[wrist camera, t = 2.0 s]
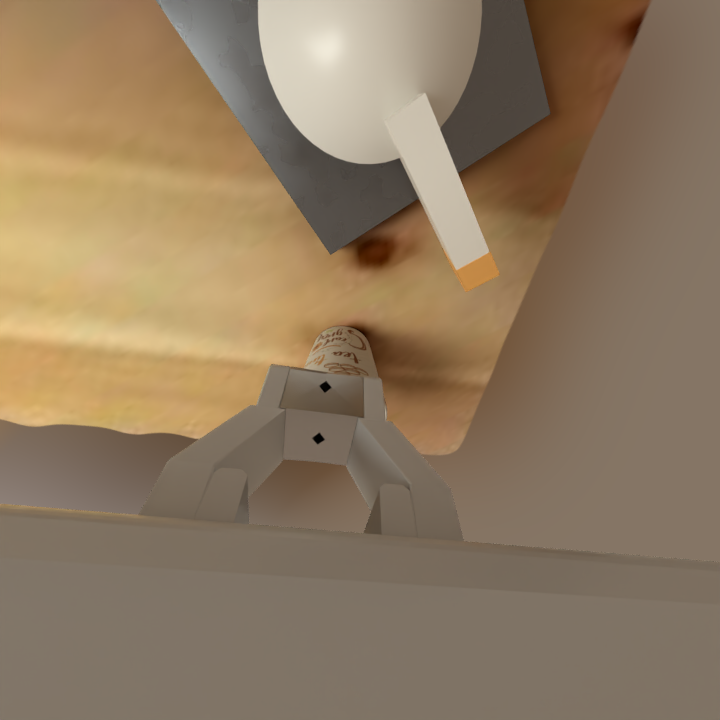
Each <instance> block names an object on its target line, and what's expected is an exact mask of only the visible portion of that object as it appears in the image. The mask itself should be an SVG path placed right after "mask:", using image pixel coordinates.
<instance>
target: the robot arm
mask: <svg viewBox="0 0 720 720" xmlns="http://www.w3.org/2000/svg"><path fill="white" fill-rule="evenodd" d="M283 459H288V460H302V461H315V462H322V463H330V464H338V465H346V466H347V469H348V471H349V473H350V474H351V476H352V478H353V480H354V482H355V483H356V485H357V487H358V488H359V491H360V492H361V494H362V496H363V498H364V499H365V501H366V503H367V505H368V507H369V508H370V510H371V514H370V516H369V519H368V522H367V525H366V528H365V530H364V533H354V532H341V531H328V530H317V529H304V528H292V527H279V526H268V525H255V524H249V509H248V497H250V496H251V494H252V493H253V492H254V491H255V490H256V489H257V488H258V487H259V486H260V485H261V484H262V483H263V481H264V480H265V479H266V478H267V477H268V476H269V475H270V474H271V473H272V472H273V471H274V469H275V468H276V467H277V466H278V465H279V464H280V463H281V462H282V460H283ZM0 720H720V562H714V561H702V560H689V559H677V558H663V557H651V556H640V555H627V554H615V553H603V552H590V551H578V550H566V549H553V548H541V547H528V546H516V545H504V544H491V543H479V542H467V541H464V539H463V536H462V531H461V528H460V523H459V519H458V515H457V511H456V507H455V503H454V499H453V495H452V491H451V488H450V487H449V486H448V485H447V484H446V482H445V481H444V480H443V479H442V478H441V477H440V476H439V475H438V473H437V472H436V471H435V470H434V469H433V468H432V467H431V466H430V465H429V463H428V462H427V461H426V460H425V459H424V458H423V457H422V455H421V454H420V453H419V452H418V451H417V450H416V449H415V448H414V446H413V445H412V444H411V443H410V442H409V441H408V440H407V439H406V437H405V436H404V435H403V434H402V433H401V432H400V431H399V430H398V428H397V427H396V426H395V425H394V424H393V423H392V422H391V421H386V416H385V406H384V396H383V385H382V380H381V378H375V377H366V376H363V377H361V376H353V375H345V374H337V373H329V372H323V371H317V370H310V369H304V368H297V367H289V366H282V365H275V364H272V365H271V366H270V367H269V370H268V373H267V376H266V378H265V381H264V384H263V387H262V390H261V393H260V396H259V399H258V402H257V405H256V406H255V405H250V406H248V407H247V408H245V409H244V410H242V411H241V412H239V413H238V414H236V415H235V416H233V417H232V418H230V419H229V420H227V421H226V422H224V423H223V424H221V425H220V426H218V427H217V428H215V429H214V430H212V431H211V432H209V433H208V434H206V435H205V436H203V437H202V438H200V439H199V440H198V441H196V442H195V443H193V444H192V445H190V446H189V447H187V448H186V449H184V450H183V451H181V452H180V453H178V454H177V455H175V456H174V457H172V458H171V459H169V460H168V462H167V463H166V465H165V467H164V469H163V471H162V472H161V474H160V476H159V478H158V480H157V482H156V484H155V485H154V487H153V489H152V491H151V493H150V495H149V496H148V498H147V500H146V502H145V504H144V505H143V507H142V509H141V511H140V513H139V514H138V515H132V514H120V513H107V512H95V511H81V510H69V509H58V508H45V507H33V506H21V505H8V504H0Z"/></svg>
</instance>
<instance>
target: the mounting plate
mask: <svg viewBox="0 0 720 720" xmlns="http://www.w3.org/2000/svg"><path fill="white" fill-rule="evenodd" d="M156 1H157V3H158V4H159V6H160V7H161V9H162V10H163V11H164V13H165V14H166V16H167V17H168V19H169V20H170V22H171V23H172V25H173V26H174V27H175V29H176V30H177V32H178V33H179V35H180V36H181V38H182V39H183V41H184V42H185V43H186V45H187V46H188V48H189V49H190V51H191V52H192V54H193V55H194V57H195V58H196V59H197V61H198V62H199V64H200V65H201V67H202V68H203V70H204V71H205V73H206V74H207V76H208V77H209V78H210V80H211V81H212V83H213V84H214V86H215V87H216V89H217V90H218V92H219V93H220V94H221V96H222V97H223V99H224V100H225V102H226V103H227V105H228V106H229V108H230V109H231V110H232V112H233V113H234V115H235V116H236V118H237V119H238V121H239V122H240V124H241V125H242V126H243V128H244V129H245V131H246V132H247V134H248V135H249V137H250V138H251V140H252V141H253V142H254V144H255V145H256V147H257V148H258V150H259V151H260V153H261V154H262V156H263V157H264V159H265V160H266V161H267V163H268V164H269V166H270V167H271V169H272V170H273V172H274V173H275V175H276V176H277V177H278V179H279V180H280V182H281V183H282V185H283V186H284V188H285V189H286V191H287V192H288V193H289V195H290V196H291V198H292V199H293V201H294V202H295V204H296V205H297V207H298V208H299V209H300V211H301V212H302V214H303V215H304V217H305V218H306V220H307V221H308V223H309V224H310V226H311V227H312V228H313V230H314V231H315V233H316V234H317V236H318V237H319V239H320V240H321V242H322V243H323V244H324V246H325V247H326V249H327V250H328V252H329V253H330V255H331V254H333V253H334V252H336V251H337V250H339V249H340V248H342V247H344V246H345V245H347V244H348V243H350V242H351V241H353V240H354V239H356V238H358V237H359V236H361V235H362V234H364V233H365V232H367V231H368V230H370V229H372V228H373V227H375V226H376V225H378V224H379V223H381V222H383V221H384V220H386V219H387V218H389V217H390V216H392V215H393V214H395V213H397V212H398V211H400V210H401V209H403V208H404V207H406V206H407V205H409V204H411V203H412V202H414V201H415V200H417V199H418V198H419V197H418V195H417V193H416V191H415V189H414V187H413V185H412V183H411V181H410V179H409V177H408V175H407V172H406V170H405V168H404V166H403V164H402V162H401V160H400V158H398V159H395V160H392V161H388V162H384V163H377V164H358V163H353V162H347V161H344V160H341V159H339V158H336V157H334V156H332V155H330V154H328V153H326V152H324V151H323V150H321V149H320V148H318V147H317V146H315V145H314V144H313V143H311V142H310V141H309V140H308V139H307V138H306V137H305V136H304V135H303V134H302V133H301V132H300V131H299V130H298V129H297V127H296V126H295V125H294V124H293V123H292V121H291V120H290V118H289V117H288V115H287V114H286V113H285V111H284V109H283V108H282V106H281V104H280V102H279V100H278V98H277V96H276V94H275V92H274V89H273V87H272V85H271V82H270V80H269V77H268V73H267V70H266V67H265V63H264V59H263V54H262V49H261V44H260V36H259V27H258V0H156ZM549 114H550V109H549V105H548V101H547V97H546V92H545V88H544V84H543V80H542V75H541V71H540V67H539V63H538V59H537V54H536V50H535V46H534V42H533V37H532V33H531V29H530V25H529V20H528V16H527V12H526V8H525V3H524V0H482V18H481V30H480V37H479V43H478V49H477V54H476V57H475V61H474V65H473V68H472V72H471V74H470V77H469V80H468V82H467V85H466V87H465V89H464V92H463V94H462V96H461V98H460V100H459V102H458V103H457V105H456V107H455V108H454V110H453V111H452V113H451V115H450V116H449V118H448V119H447V120H446V121H445V123H444V124H443V125H442V126H441V128H440V130H441V133H442V135H443V138H444V140H445V143H446V145H447V148H448V150H449V153H450V155H451V158H452V160H453V163H454V165H455V168H456V170H457V173H459V172H460V171H462V170H464V169H465V168H467V167H468V166H470V165H471V164H473V163H475V162H476V161H478V160H479V159H481V158H482V157H484V156H485V155H487V154H489V153H490V152H492V151H493V150H495V149H496V148H498V147H499V146H501V145H503V144H504V143H506V142H507V141H509V140H510V139H512V138H514V137H515V136H517V135H518V134H520V133H521V132H523V131H524V130H526V129H528V128H529V127H531V126H532V125H534V124H535V123H537V122H538V121H540V120H542V119H543V118H545V117H546V116H548V115H549Z"/></svg>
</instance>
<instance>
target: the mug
mask: <svg viewBox="0 0 720 720" xmlns="http://www.w3.org/2000/svg"><path fill="white" fill-rule="evenodd" d="M304 369H310V370H317V371H323V372H329V373H337V374H345V375H353V376H361V377H363V376H366V377H375V378H379V376H378V373H377V369H376V366H375V362H374V359H373V355H372V352H371V348H370V345H369V342H368V340H367V339H366V337H365V336H364V335H363V334H362V333H361V332H359V331H358V330H356V329H354V328H351V327H346V326H336V327H332V328H329V329H327V330H325V331H323V332H322V333H321V334H320V335H319V336H318V338H317V339H316V341H315V343H314V345H313V348H312V350H311V352H310V355H309V357H308V359H307V362H306V364H305V366H304ZM383 396H384V394H383ZM384 406H385V416H386V420H387V406H386V401H385V398H384Z"/></svg>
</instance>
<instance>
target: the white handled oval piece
mask: <svg viewBox="0 0 720 720" xmlns="http://www.w3.org/2000/svg"><path fill="white" fill-rule="evenodd" d="M481 18H482V0H258V27H259V36H260V44H261V49H262V54H263V59H264V63H265V67H266V70H267V73H268V77H269V80H270V82H271V85H272V87H273V89H274V92H275V94H276V96H277V98H278V100H279V102H280V104H281V106H282V108H283V109H284V111H285V113H286V114H287V115H288V117H289V118H290V120H291V121H292V123H293V124H294V125H295V126H296V127H297V129H298V130H299V131H300V132H301V133H302V134H303V135H304V136H305V137H306V138H307V139H308V140H309V141H310V142H311V143H313V144H314V145H315V146H317V147H318V148H320V149H321V150H323V151H324V152H326V153H328V154H330V155H332V156H334V157H336V158H339V159H341V160H344V161H347V162H353V163H358V164H377V163H384V162H388V161H392V160H395V159H398V158H400V160H401V162H402V164H403V166H404V168H405V170H406V172H407V175H408V177H409V179H410V181H411V183H412V185H413V187H414V189H415V191H416V193H417V195H418V197H419V200H420V202H421V204H422V206H423V208H424V210H425V212H426V214H427V216H428V218H429V220H430V222H431V224H432V227H433V229H434V231H435V233H436V235H437V237H438V239H439V241H440V243H441V245H442V247H443V248H442V249H443V251H444V253H445V255H446V257H447V260H448V262H449V264H450V266H451V268H452V269H453V271H454V273H455V274H456V276H457V278H458V279H459V281H460V283H461V285H462V286H463V288H464V290H465V291H466V292H468V291H470V290H472V289H473V288H475V287H477V286H479V285H481V284H483V283H485V282H487V281H489V280H491V279H493V278H495V277H496V276H498V275H500V274H499V272H498V269H497V267H496V264H495V262H494V259H493V257H492V254H491V252H490V251H489V250H488V247H487V245H486V242H485V240H484V237H483V235H482V232H481V230H480V227H479V225H478V222H477V220H476V217H475V215H474V212H473V210H472V207H471V205H470V202H469V200H468V197H467V195H466V192H465V190H464V188H463V185H462V183H461V180H460V178H459V175H458V173H457V170H456V168H455V165H454V163H453V160H452V158H451V155H450V153H449V150H448V148H447V145H446V143H445V140H444V138H443V135H442V133H441V130H440V128H441V126H442V125H443V124H444V123H445V121H446V120H447V119H448V118H449V116H450V115H451V113H452V111H453V110H454V108H455V107H456V105H457V103H458V102H459V100H460V98H461V96H462V94H463V92H464V89H465V87H466V85H467V82H468V80H469V77H470V74H471V72H472V68H473V65H474V61H475V57H476V54H477V49H478V43H479V37H480V30H481Z"/></svg>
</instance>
